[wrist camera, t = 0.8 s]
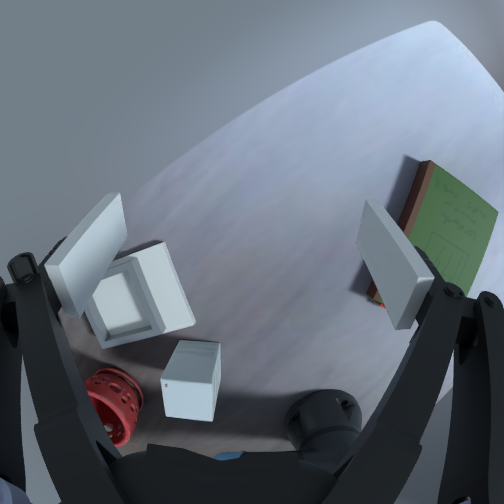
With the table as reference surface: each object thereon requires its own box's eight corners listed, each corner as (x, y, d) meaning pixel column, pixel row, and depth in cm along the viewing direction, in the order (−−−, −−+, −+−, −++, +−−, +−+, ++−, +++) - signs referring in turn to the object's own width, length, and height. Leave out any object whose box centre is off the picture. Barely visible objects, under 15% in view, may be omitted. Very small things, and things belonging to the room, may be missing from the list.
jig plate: (195, 321, 49) (191, 331, 45) (110, 344, 50) (101, 353, 46) (164, 241, 47) (156, 245, 43) (79, 274, 48) (67, 280, 44)
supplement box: (181, 374, 51) (163, 417, 39) (179, 338, 50) (158, 377, 37) (221, 377, 51) (213, 423, 39) (222, 342, 50) (212, 383, 37)
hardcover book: (419, 161, 44) (430, 160, 41) (486, 210, 45) (498, 211, 42) (363, 296, 48) (370, 303, 45) (437, 327, 49) (447, 335, 46)
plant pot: (162, 397, 52) (144, 437, 40) (122, 418, 54) (102, 454, 42) (116, 348, 50) (87, 381, 39) (80, 375, 52) (52, 406, 40)
